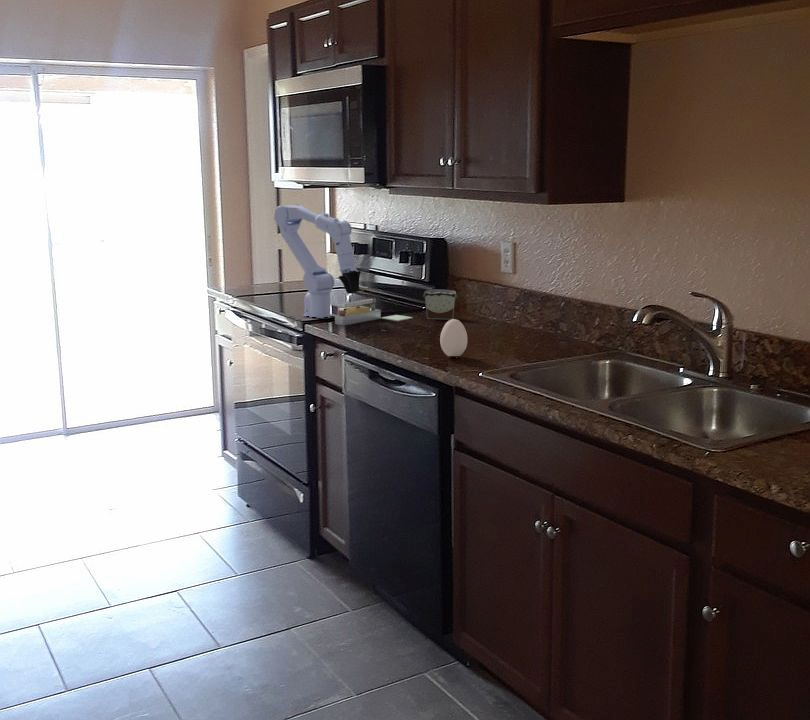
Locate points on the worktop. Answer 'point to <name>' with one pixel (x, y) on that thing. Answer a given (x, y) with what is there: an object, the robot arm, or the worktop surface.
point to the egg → (453, 338)
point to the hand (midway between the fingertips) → (353, 292)
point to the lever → (358, 302)
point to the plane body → (357, 316)
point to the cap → (358, 310)
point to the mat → (397, 318)
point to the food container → (440, 304)
